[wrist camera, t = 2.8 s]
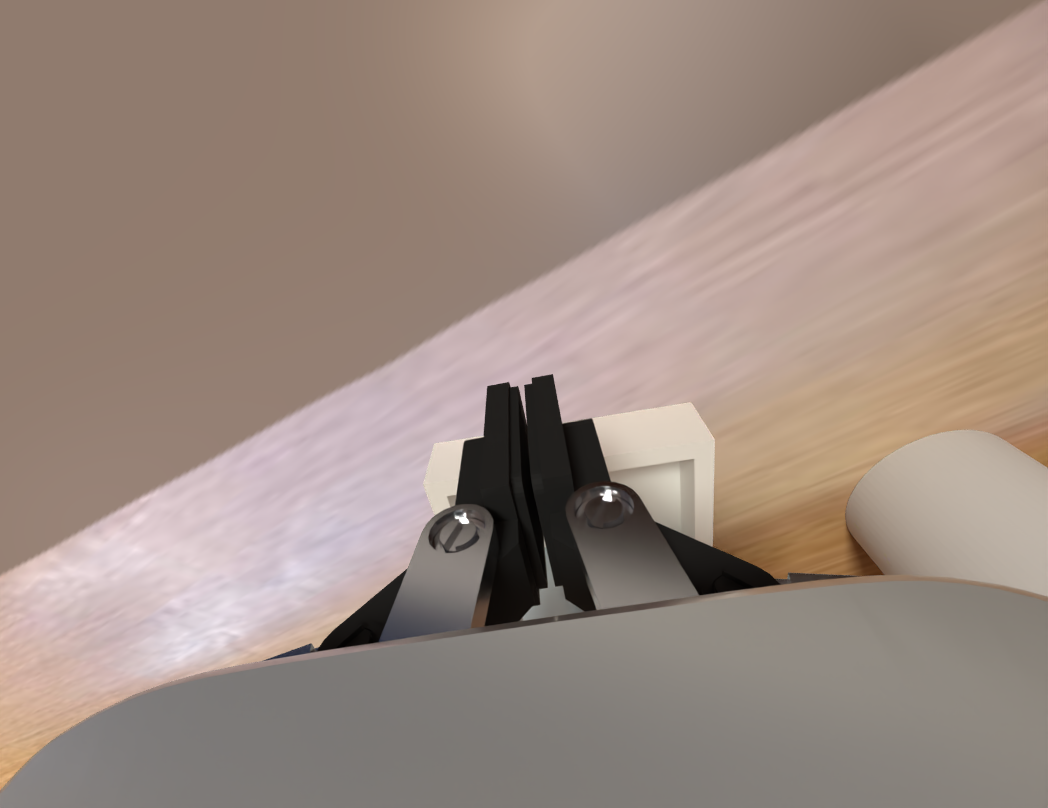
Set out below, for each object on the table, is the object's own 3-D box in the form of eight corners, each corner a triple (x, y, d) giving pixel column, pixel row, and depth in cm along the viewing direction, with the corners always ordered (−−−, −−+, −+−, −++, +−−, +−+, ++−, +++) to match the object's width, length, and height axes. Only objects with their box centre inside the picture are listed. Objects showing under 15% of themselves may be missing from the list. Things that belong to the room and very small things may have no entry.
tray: (690, 402, 21) (714, 439, 19) (693, 622, 29) (710, 670, 27) (434, 443, 22) (422, 484, 20) (503, 645, 30) (502, 693, 28)
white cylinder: (883, 572, 27) (1109, 846, 17) (818, 494, 24) (1043, 769, 14) (1038, 497, 24) (1424, 770, 14) (986, 398, 21) (1427, 651, 11)
